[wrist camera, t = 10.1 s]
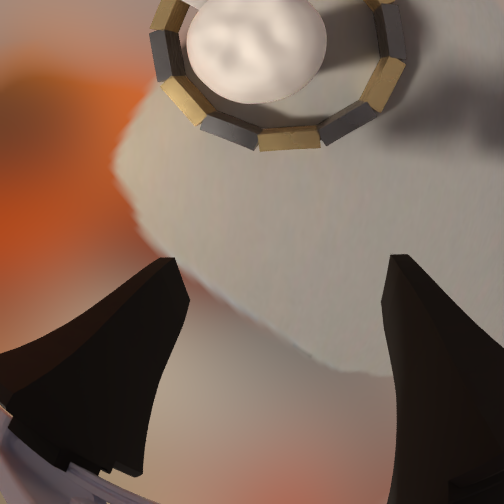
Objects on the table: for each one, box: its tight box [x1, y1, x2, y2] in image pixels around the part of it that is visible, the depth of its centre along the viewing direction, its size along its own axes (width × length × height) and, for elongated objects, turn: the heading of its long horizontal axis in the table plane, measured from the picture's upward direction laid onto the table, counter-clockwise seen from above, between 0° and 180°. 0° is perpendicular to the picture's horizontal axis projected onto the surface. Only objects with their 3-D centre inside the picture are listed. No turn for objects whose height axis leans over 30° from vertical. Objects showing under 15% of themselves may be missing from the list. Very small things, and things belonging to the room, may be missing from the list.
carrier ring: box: [149, 0, 407, 152], centre depth 12 cm, size 14×14×2 cm
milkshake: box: [181, 0, 327, 104], centre depth 9 cm, size 5×5×10 cm
